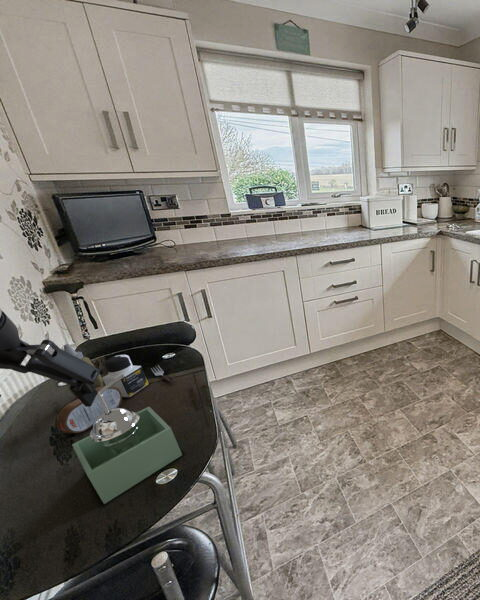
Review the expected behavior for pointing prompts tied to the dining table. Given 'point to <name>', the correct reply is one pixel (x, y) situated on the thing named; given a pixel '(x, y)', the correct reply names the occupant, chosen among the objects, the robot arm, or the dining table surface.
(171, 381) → the fork
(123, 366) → the medicine bottle
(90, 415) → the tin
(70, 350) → the squeeze bottle
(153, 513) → the dining table surface
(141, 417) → the bin
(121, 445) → the cup with straw
